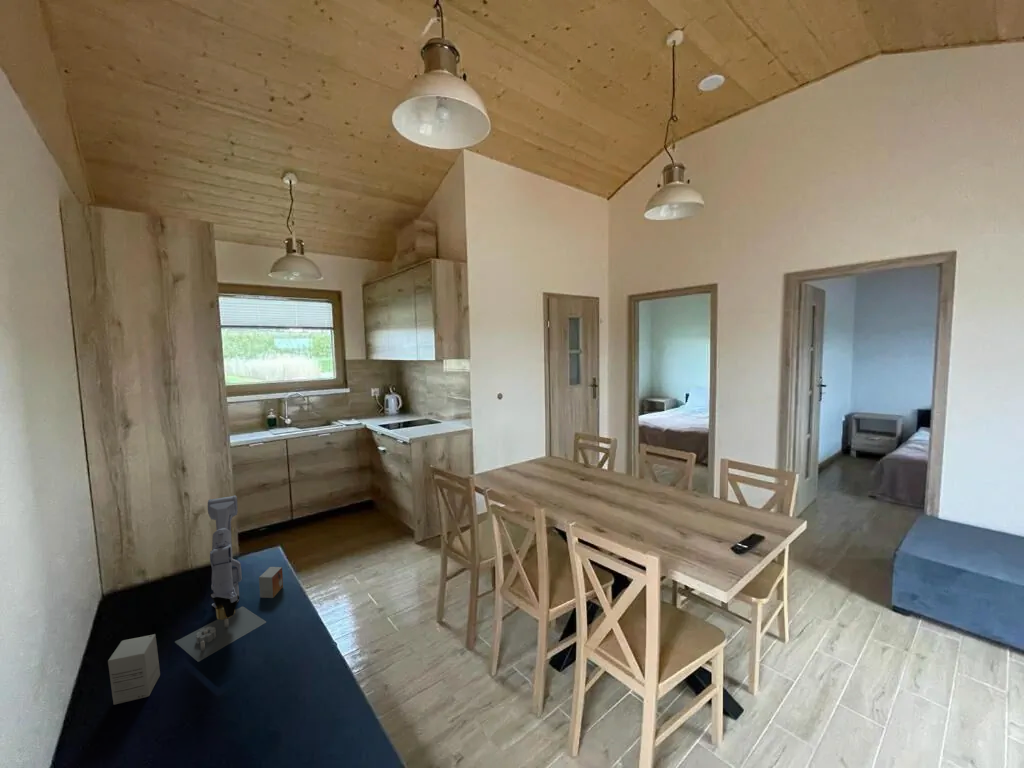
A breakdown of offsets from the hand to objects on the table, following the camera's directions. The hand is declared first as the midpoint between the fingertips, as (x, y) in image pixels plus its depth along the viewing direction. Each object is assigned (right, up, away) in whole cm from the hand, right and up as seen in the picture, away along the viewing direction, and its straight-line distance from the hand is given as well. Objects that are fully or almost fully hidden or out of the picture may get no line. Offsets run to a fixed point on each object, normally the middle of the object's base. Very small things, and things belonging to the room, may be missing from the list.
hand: (225, 612), depth 159 cm
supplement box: (-11, -11, -25) cm, 29 cm away
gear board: (0, -8, -1) cm, 8 cm away
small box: (+5, -5, +22) cm, 23 cm away
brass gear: (0, -1, 0) cm, 1 cm away
